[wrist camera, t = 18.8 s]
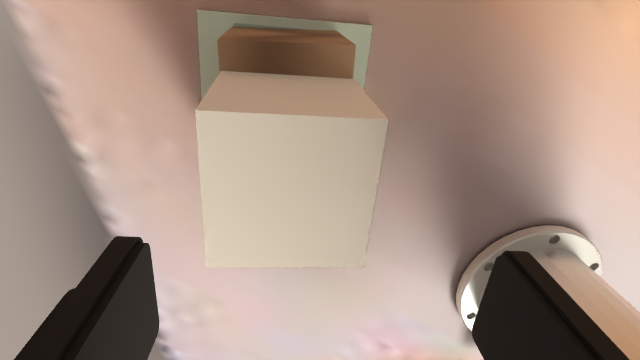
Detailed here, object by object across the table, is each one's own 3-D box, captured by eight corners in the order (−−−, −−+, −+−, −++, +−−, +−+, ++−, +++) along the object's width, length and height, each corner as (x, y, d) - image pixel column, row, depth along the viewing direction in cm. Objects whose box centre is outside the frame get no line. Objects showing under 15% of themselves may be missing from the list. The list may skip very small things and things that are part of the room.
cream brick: (340, 192, 20) (363, 266, 15) (225, 190, 19) (205, 267, 14) (354, 78, 17) (388, 119, 12) (221, 70, 17) (195, 110, 11)
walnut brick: (336, 30, 22) (355, 45, 17) (327, 170, 26) (341, 217, 21) (231, 26, 21) (217, 39, 16) (239, 170, 25) (229, 218, 20)
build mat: (350, 175, 27) (351, 178, 27) (206, 170, 26) (205, 172, 25) (371, 25, 23) (373, 25, 22) (198, 9, 21) (196, 10, 21)
